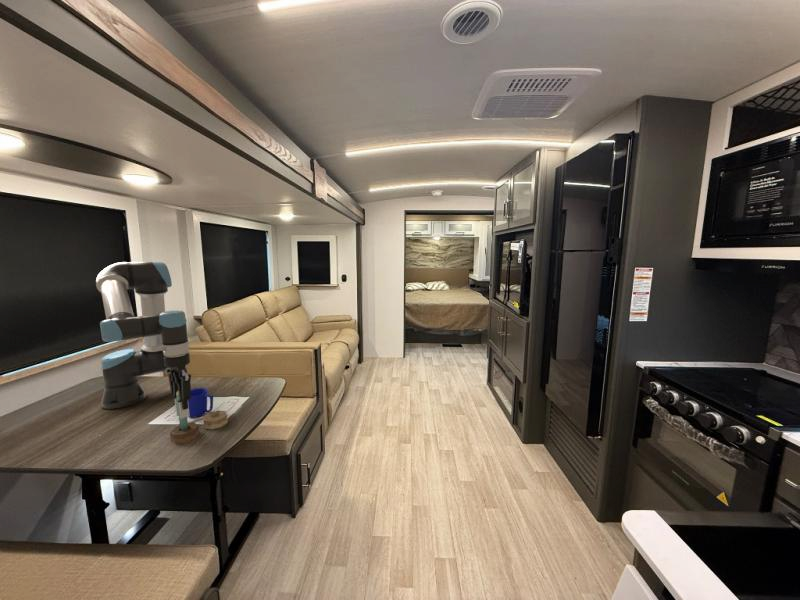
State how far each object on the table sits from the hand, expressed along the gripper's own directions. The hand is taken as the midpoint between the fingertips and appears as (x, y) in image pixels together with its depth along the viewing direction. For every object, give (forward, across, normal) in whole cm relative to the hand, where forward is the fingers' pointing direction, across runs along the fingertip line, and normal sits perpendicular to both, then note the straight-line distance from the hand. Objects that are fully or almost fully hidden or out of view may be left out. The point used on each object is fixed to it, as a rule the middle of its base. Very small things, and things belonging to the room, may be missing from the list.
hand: (183, 415), depth 114 cm
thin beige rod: (+9, -9, +7) cm, 14 cm away
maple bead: (+9, 0, +11) cm, 14 cm away
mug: (+9, -12, +11) cm, 19 cm away
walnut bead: (+9, 0, 0) cm, 9 cm away
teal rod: (+6, 0, 0) cm, 6 cm away
